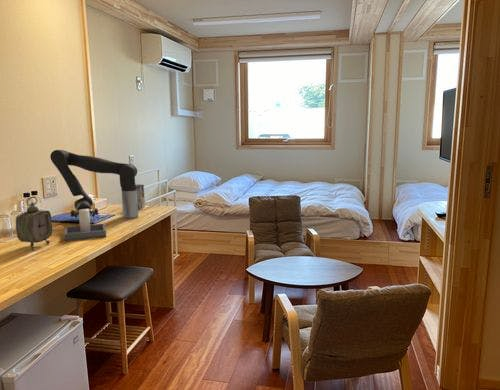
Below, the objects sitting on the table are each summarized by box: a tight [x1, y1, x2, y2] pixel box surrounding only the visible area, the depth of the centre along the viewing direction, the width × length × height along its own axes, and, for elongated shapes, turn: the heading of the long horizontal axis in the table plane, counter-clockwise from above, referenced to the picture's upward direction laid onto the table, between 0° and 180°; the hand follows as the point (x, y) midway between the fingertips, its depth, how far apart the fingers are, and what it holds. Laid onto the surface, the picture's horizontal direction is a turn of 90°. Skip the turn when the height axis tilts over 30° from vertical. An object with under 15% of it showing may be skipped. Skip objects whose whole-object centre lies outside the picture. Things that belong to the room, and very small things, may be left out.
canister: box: [78, 209, 91, 232], centre depth 219 cm, size 5×5×13 cm
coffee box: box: [136, 184, 146, 211], centre depth 281 cm, size 9×6×16 cm
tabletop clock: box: [15, 196, 53, 252], centre depth 198 cm, size 14×9×25 cm, turn 168°
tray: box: [64, 223, 107, 242], centre depth 220 cm, size 20×15×4 cm
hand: (84, 215), depth 225 cm, fingers open, 8 cm apart
